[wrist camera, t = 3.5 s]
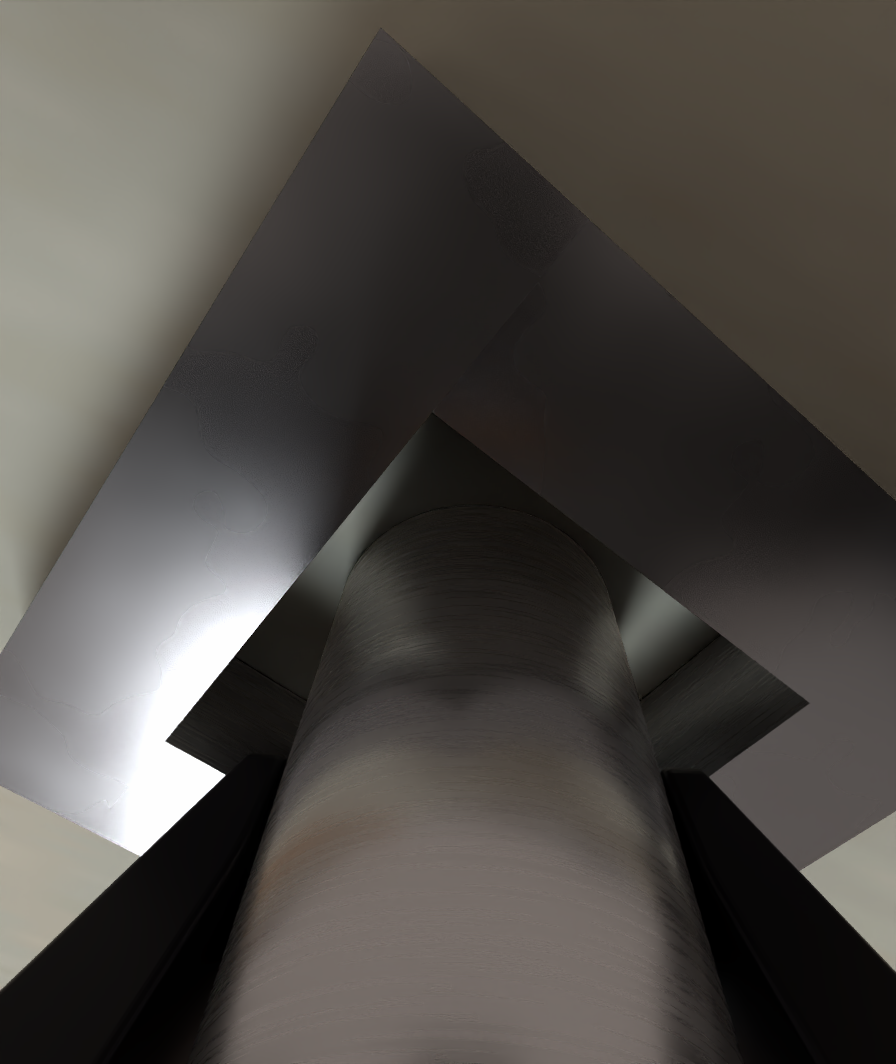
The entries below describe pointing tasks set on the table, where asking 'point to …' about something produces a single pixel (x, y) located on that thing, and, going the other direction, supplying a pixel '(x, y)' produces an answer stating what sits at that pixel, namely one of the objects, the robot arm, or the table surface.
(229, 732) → the pin mount
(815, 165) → the table surface
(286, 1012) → the steel pin
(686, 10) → the table surface
